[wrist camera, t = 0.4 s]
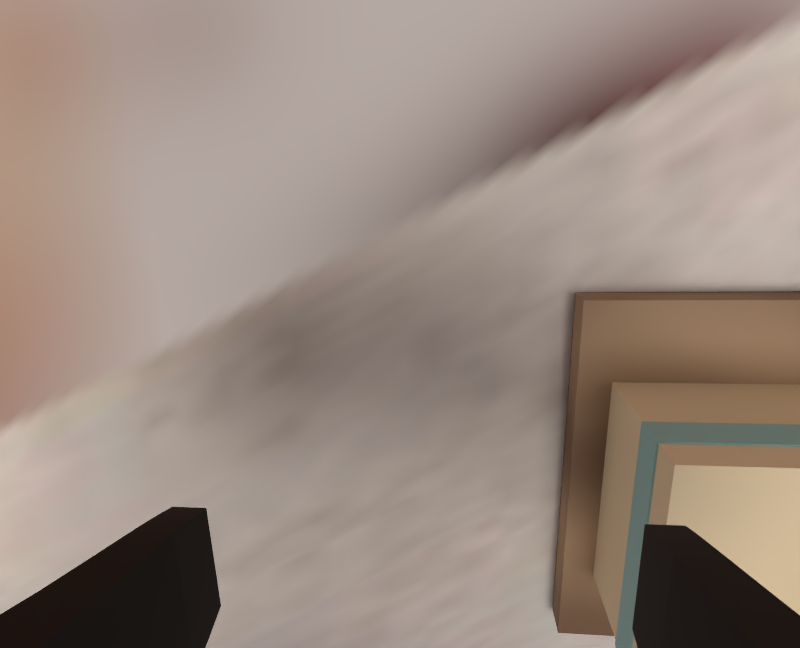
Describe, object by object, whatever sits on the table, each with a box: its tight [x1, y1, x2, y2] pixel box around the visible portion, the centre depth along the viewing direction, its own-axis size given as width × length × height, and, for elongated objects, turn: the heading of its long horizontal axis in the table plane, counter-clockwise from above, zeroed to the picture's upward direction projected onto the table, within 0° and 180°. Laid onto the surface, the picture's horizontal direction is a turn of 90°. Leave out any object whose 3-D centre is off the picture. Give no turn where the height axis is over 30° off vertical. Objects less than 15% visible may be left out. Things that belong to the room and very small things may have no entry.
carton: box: [593, 382, 800, 648], centre depth 14 cm, size 7×7×4 cm
